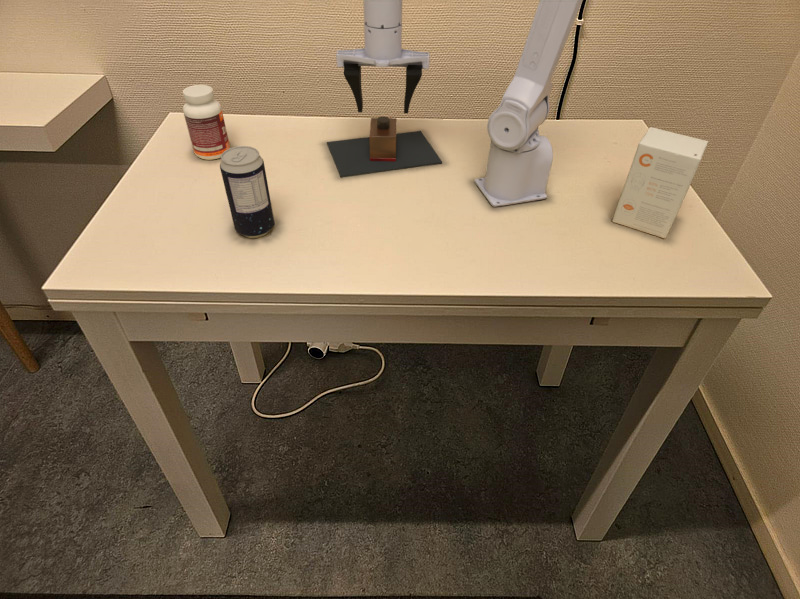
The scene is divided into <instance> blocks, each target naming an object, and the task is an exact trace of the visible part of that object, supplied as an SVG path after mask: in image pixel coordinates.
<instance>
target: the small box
mask: <svg viewBox="0 0 800 599" xmlns="http://www.w3.org/2000/svg"><path fill="white" fill-rule="evenodd" d="M708 143H709V140H705V139H701V138H697V137H693V136H689V135H685V134H681V133H677V132H673V131H668V130H664V129H660V128H656V127H652V126H650V127H649V128H648V129H647V130H646V132H645V134H644V136H642V137H641V140H640V141H639V142H638V144H637V146H636V147H637V148H636V151H635V153H634V157H633V158H632V159H633V160H632V162H631V165H630V168H629V171H628V174H627V176H626V179H625V182H624V185H623V188H622V190H621V194H620V196H619V199H618V202H617V205H616V208H615V211H614V213H613V217H612V221H611V222H612V223H615V224H619V225H621V226H623V227H624V226H625V227H627V228H630V229H634V230H637V231H640V232H643V233H646V234H650V235H653V236H655V237H658V238H662V239H666V238H667V237H668V235H669V232H670V230H671V229H672V226H673V224H674V222H675V220H676V218H677V215H678V213H679V211H680V209H681V208H682V205H683V202H684V200H685V198H686V196H687V193H688V192H689V189H690V187H691V184H692V182H693V180H694V177H695V175H696V173H697V170H698V169H699V166H700V163H701V161H702V158H703V157H704V154H705V151H706V149H707V146H708Z"/></svg>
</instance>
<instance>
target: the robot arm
mask: <svg viewBox="0 0 800 599" xmlns="http://www.w3.org/2000/svg"><path fill="white" fill-rule="evenodd" d="M583 1H584V0H539V2H538V5H537V8H536V10H535V14H534V15H533V16H534V17H533V19H532V21H531V24H530V25H531V26H530V29H529V31H528V34H527V37H526V40H525V42H524V43H525V44H524V47H523V49H522V52H521V56H520V58H519V60H518V64H517V68H516V70H515V73H514V76H513V78H512V79H511V81H510V83H509V85H508V87H507V88H506V90H505V91H504V94H503V95H502V98H501V101H500V104H499V105H498V107H497V108H495V110H494V111H492V113H491V114H490V115H489V118H487V123H486V132H487V135H488V137H489V139H490V142H489V148H488V156H487V163H486V170H485V176H484V177H479V178H478V177H477V178H475V179H474V184H475V185H476V186H477V187H478V189H479V190H480V192H481V193H482V194H483V195H484V197H485V198H486V200H487V201H488V202H489V204H490V205H491V206H492V207H494V208H498V207H503V206H504V207H505V206H509V205H515V204H523V203H529V202H534V201H541V200H546V199H548V195H547V194H546V190H547V186H548V181H549V178H550V173H551V169H552V166H553V160H554V152H553V150H554V149H553V146H552V143H551V141H550V139H549V138H548V137H547V136H545V135H541V134H540V131H539V128H540V126H541V125H542V124H544V123H545V121H546V120H547V119H548V116H549V114H550V107H551V106H550V95H551V92H552V90H553V83H552V80H553V77H554V76H555V75H554V74H555V72H556V69H557V67H558V64H559V62H560V59H561V57H562V54H563V52H564V49H565V46H566V44H567V41H568V39H569V36H570V34H571V31H572V29H573V26H574V24H575V21H576V18H577V16H578V13H579V11H580V8H581V6H582V3H583ZM402 31H403V0H363V32H364V34H363V37H364V47H363V48H354V49H337V51H336V53H335V58H336V67H337V68H343V76H344V79H345V80H346V83H347V84H348V85H349V88H350V90H351V92H352V95H353V97H354V100H355V104H356V108H357V109H356V110H357V113H363V109H364V99H363V90H362V67H376V68H389V67H390V68H391V67H392V68H405V92H404V101H403V113H404V114H409V109H410V105H411V101H412V99H413V95H414V93H415V91H416V88H417V86H418V84H419V83H420V81H421V79H422V76H423V70H429V69H430V52H429V51H418V50H409V49H404V48H402V40H403V36H402V34H403V32H402Z"/></svg>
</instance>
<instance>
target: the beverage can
mask: <svg viewBox="0 0 800 599" xmlns="http://www.w3.org/2000/svg"><path fill="white" fill-rule="evenodd" d="M220 159H221V160H220V163H219V169H220V170H219V171H220V174H221V177H222V182H223V186H224V190H225V194H226V198H227V202H228V206H229V211H230V215H231V219H232V222H233V223H232V224H233V228H234V231H235V232H237V233H238V234H239V235H241V236H243V237H245V238H249V239H258V238H261V237H264V236H265V235H267V234H268V233H269V232H270V231H271V230H272V229H273V228H274V226H275V218H274V217H275V216H274V211H273V207H272V206H273V205H272V200H271V195H270V190H269V184H268V183H269V182H268V178H267V172H266V167H265V163H264V162H265V161H264V158H262V156H261V155H260V151H259V150H258V149H257V148H255V147H252V146H248V145H237V146H233V147H230V149H228V150H226V151H224V152H223V153H222V155H221V158H220Z"/></svg>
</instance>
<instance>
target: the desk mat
mask: <svg viewBox="0 0 800 599" xmlns="http://www.w3.org/2000/svg"><path fill="white" fill-rule="evenodd" d="M326 145H327V148H328V150H329V153H330V155H331V158H332V160H333V163H334V165H335V167H336V170H337V172H338V175H339V177H340V178H345V177H353V176H361V175H362V176H363V175H369V174H376V173H381V172H382V173H383V172H391V171H397V170H405V169H412V168H420V167H428V166H434V165H441V164H443V161H442V159H441V158H440V156H439V154H438V153H437V152H436V150H435V149H434V148H433V146H432V145H431V143H430V142H429V141H428V139H427V138H426V136H425V135H424V133H423V131H421V130H417V131H416V130H415V131H407V132H397V133H396V161H370V143H369V136H366V137H357V138H350V139H349V138H348V139H341V140H332V141H326Z"/></svg>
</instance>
